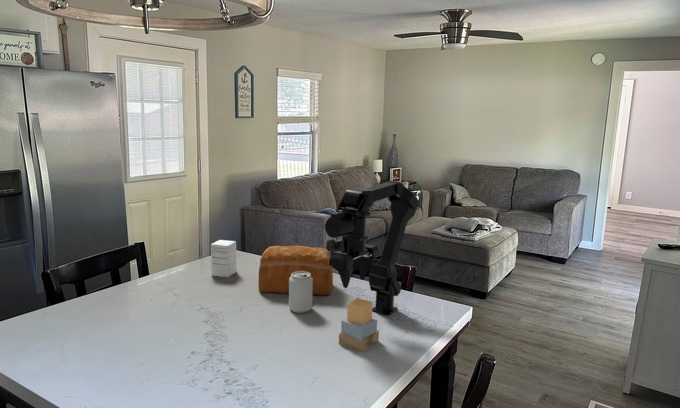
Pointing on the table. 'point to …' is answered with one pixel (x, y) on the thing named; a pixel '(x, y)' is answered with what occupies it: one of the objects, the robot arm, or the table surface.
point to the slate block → (359, 328)
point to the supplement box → (223, 258)
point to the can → (300, 291)
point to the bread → (295, 268)
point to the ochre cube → (359, 311)
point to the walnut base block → (358, 341)
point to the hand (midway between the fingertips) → (353, 283)
